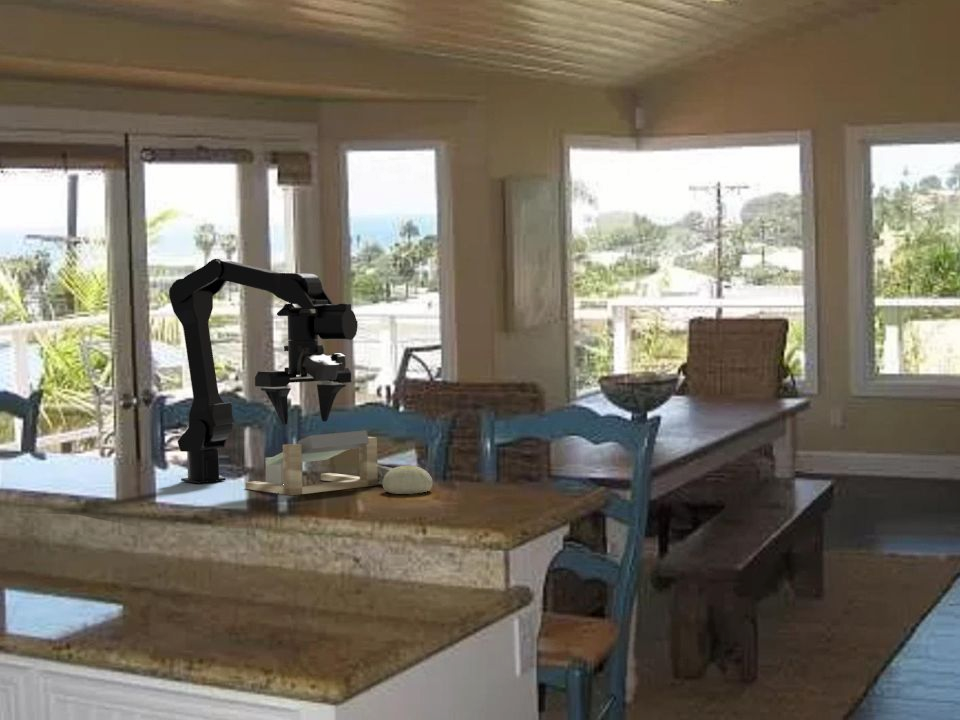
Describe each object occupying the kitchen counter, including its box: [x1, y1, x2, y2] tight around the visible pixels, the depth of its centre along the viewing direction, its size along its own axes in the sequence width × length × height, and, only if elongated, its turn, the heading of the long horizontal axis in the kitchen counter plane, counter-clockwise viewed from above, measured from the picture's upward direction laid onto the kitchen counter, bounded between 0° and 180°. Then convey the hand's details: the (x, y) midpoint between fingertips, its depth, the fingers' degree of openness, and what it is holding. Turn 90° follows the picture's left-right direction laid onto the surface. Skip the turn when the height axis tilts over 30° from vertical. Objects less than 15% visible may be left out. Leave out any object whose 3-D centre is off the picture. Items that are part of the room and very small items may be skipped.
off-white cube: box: [264, 456, 284, 485], centre depth 298 cm, size 5×5×5 cm
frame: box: [245, 436, 379, 496], centre depth 291 cm, size 15×20×9 cm
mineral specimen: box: [377, 463, 394, 486], centre depth 294 cm, size 6×12×4 cm, turn 40°
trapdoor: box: [264, 430, 369, 466], centre depth 290 cm, size 15×14×2 cm
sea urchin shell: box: [382, 465, 434, 495], centre depth 281 cm, size 9×8×8 cm
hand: (304, 423), depth 292 cm, fingers open, 9 cm apart
